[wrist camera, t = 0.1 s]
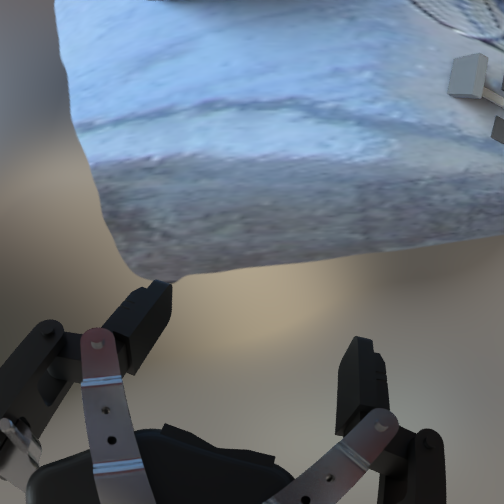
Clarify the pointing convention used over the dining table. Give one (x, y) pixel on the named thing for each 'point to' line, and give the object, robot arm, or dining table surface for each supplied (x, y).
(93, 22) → the dining table surface
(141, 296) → the robot arm
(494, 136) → the plate
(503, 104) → the grey elongated piece
